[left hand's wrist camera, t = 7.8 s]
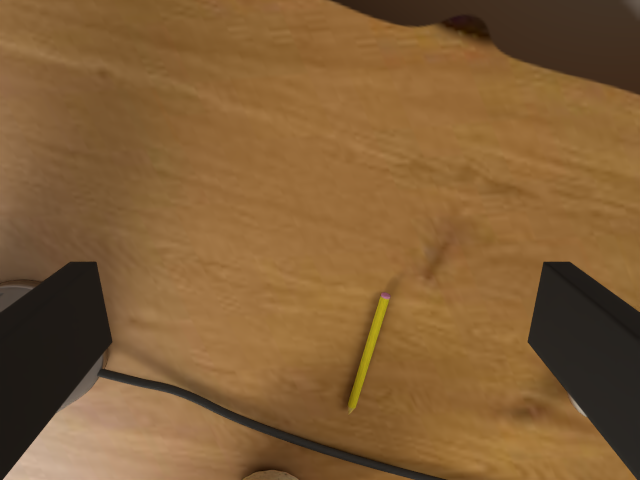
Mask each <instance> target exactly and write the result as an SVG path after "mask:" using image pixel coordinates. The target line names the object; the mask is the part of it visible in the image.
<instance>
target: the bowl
mask: <svg viewBox="0 0 640 480" xmlns="http://www.w3.org/2000/svg"><path fill="white" fill-rule="evenodd" d="M243 480H299V479H297V478H296V477H294V476H292V475H290V474H289V473H287V472H283V471H282V472H281V471H276V470H268V471H259V472H255V473H253V474H251V475H249V476H248V477H245V478H244V479H243Z"/></svg>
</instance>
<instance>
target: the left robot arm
mask: <svg viewBox="0 0 640 480" xmlns="http://www.w3.org/2000/svg"><path fill="white" fill-rule="evenodd" d="M111 343H112V337H111V332H110V327H109V322H108V317H107V312H106V307H105V302H104V297H103V292H102V287H101V282H100V277H99V272H98V267H97V262H69V263H68V264H67V265H65V266H64V267H62V268H61V269H60V270H58V271H57V272H55V273H54V274H53V275H51V276H50V277H49V278H47V279H46V280H44V281H43V282H38V281H30V280H15V281H8V282H4V283H1V284H0V480H3V479H4V477H5V476H6V475H7V474H8V472H9V471H10V470H11V469H12V467H13V466H14V465H15V464H16V462H17V461H18V460H19V459H20V457H21V456H22V455H23V454H24V452H25V451H26V450H27V449H28V447H29V446H30V445H31V444H32V442H33V441H34V440H35V439H36V437H37V436H38V435H39V433H40V432H41V431H42V430H43V428H44V427H45V426H46V425H47V423H48V422H49V421H50V420H51V418H52V417H53V416H54V415H55V413H57V412H58V411H60V410H62V409H63V408H65V407H66V406H68V405H69V404H71V403H72V402H74V401H76V400H77V399H79V398H80V397H81V396H83V395H84V394H85V393H86V392H88V391H89V390H90V389H91V388H92V386H93V385H94V384H95V382H96V381H97V380H98V378H99V377H103V378H107V379H111V380H115V381H119V382H123V383H127V384H131V385H135V386H139V387H144V388H149V389H154V390H159V391H163V392H167V393H171V394H174V395H177V396H179V397H182V398H185V399H187V400H190V401H192V402H194V403H196V404H199V405H201V406H203V407H205V408H207V409H209V410H211V411H213V412H215V413H217V414H219V415H221V416H223V417H225V418H228V419H230V420H232V421H235V422H237V423H239V424H242V425H244V426H247V427H249V428H252V429H255V430H257V431H260V432H263V433H265V434H268V435H271V436H273V437H276V438H279V439H282V440H285V441H288V442H291V443H293V444H296V445H299V446H302V447H305V448H308V449H311V450H314V451H317V452H320V453H323V454H326V455H330V456H333V457H336V458H339V459H343V460H346V461H349V462H353V463H356V464H359V465H363V466H366V467H370V468H373V469H377V470H381V471H384V472H388V473H392V474H396V475H399V476H403V477H407V478H411V479H415V480H446V479H442V478H438V477H434V476H430V475H426V474H422V473H418V472H414V471H411V470H407V469H403V468H399V467H395V466H392V465H388V464H384V463H381V462H377V461H374V460H370V459H367V458H363V457H360V456H356V455H353V454H350V453H346V452H343V451H340V450H337V449H333V448H330V447H327V446H324V445H321V444H318V443H315V442H312V441H309V440H306V439H303V438H300V437H297V436H294V435H292V434H289V433H286V432H283V431H280V430H277V429H275V428H272V427H269V426H267V425H264V424H261V423H259V422H256V421H254V420H251V419H249V418H246V417H244V416H241V415H239V414H236V413H234V412H232V411H229V410H227V409H225V408H223V407H221V406H219V405H217V404H215V403H213V402H211V401H209V400H207V399H205V398H203V397H201V396H199V395H196V394H194V393H192V392H189V391H187V390H184V389H181V388H179V387H176V386H172V385H169V384H165V383H161V382H156V381H151V380H146V379H142V378H137V377H133V376H129V375H125V374H121V373H118V372H114V371H110V370H106V369H105V366H106V363H107V359H108V347H109V346H110V344H111ZM528 343H529V344H530V346H531V347H532V348H533V349H534V351H535V352H536V353H537V354H538V356H539V357H540V358H541V359H542V361H543V362H544V363H545V364H546V366H547V367H548V368H549V369H550V371H551V372H552V373H553V374H554V376H555V377H556V378H557V380H558V381H559V382H560V383H561V385H562V386H563V387H564V388H565V390H566V391H567V392H568V393H569V395H570V396H571V397H572V398H573V400H574V401H575V402H576V403H577V405H578V406H579V407H580V408H581V410H582V411H583V412H584V413H585V415H586V416H587V417H588V418H589V420H590V421H591V422H592V423H593V425H594V426H595V427H596V428H597V430H598V431H599V432H600V433H601V435H602V436H603V437H604V439H605V440H606V441H607V442H608V444H609V445H610V446H611V447H612V449H613V450H614V451H615V452H616V454H617V455H618V456H619V457H620V459H621V460H622V461H623V462H624V464H625V465H626V466H627V467H628V469H629V470H630V471H631V472H632V474H633V475H634V476H635V477H636V479H637V480H640V312H638V311H637V310H636V309H634V308H633V307H632V306H630V305H629V304H627V303H626V302H625V301H623V300H622V299H620V298H619V297H618V296H616V295H615V294H614V293H612V292H611V291H609V290H608V289H607V288H605V287H604V286H602V285H601V284H600V283H598V282H597V281H596V280H594V279H593V278H591V277H590V276H589V275H587V274H586V273H585V272H583V271H582V270H580V269H579V268H578V267H576V266H575V265H573V264H572V263H571V262H543V267H542V272H541V277H540V282H539V287H538V292H537V297H536V302H535V307H534V312H533V317H532V322H531V327H530V332H529V337H528Z"/></svg>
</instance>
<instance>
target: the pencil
mask: <svg viewBox="0 0 640 480" xmlns="http://www.w3.org/2000/svg"><path fill="white" fill-rule="evenodd" d="M389 299H390V295H389V294H388V293H381V296H380V300H379V303H378V306H377V310H376V313H375V316H374V319H373V323H372V326H371V329H370V333H369V336H368V339H367V342H366V346H365V349H364V352H363V356H362V359H361V362H360V365H359V369H358V372H357V375H356V379H355V382H354V385H353V389H352V392H351V395H350V398H349V402H348V413H349V414H350V413H351V412H352V411H353V410H354V409H355V407H356V404H357V401H358V398H359V395H360V392H361V388H362V385H363V382H364V379H365V376H366V372H367V369H368V366H369V363H370V360H371V356H372V353H373V350H374V347H375V344H376V340H377V337H378V334H379V331H380V328H381V324H382V321H383V318H384V315H385V312H386V308H387V305H388V302H389Z"/></svg>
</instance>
